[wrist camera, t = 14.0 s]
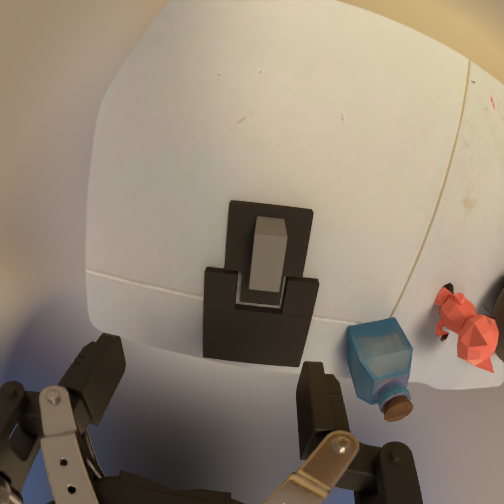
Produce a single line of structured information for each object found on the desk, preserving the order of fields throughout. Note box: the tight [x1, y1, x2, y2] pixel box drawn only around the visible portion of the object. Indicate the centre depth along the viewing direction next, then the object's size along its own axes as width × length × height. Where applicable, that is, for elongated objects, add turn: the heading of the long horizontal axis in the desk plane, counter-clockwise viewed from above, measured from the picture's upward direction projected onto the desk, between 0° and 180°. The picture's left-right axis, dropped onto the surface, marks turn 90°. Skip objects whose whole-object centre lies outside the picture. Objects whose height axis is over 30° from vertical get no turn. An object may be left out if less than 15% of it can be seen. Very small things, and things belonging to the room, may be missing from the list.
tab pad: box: [225, 200, 313, 306], centre depth 28 cm, size 8×11×6 cm
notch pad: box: [203, 267, 319, 367], centre depth 34 cm, size 12×12×1 cm
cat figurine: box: [435, 283, 499, 373], centre depth 27 cm, size 7×7×12 cm
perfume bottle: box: [348, 318, 413, 422], centre depth 29 cm, size 6×6×12 cm
